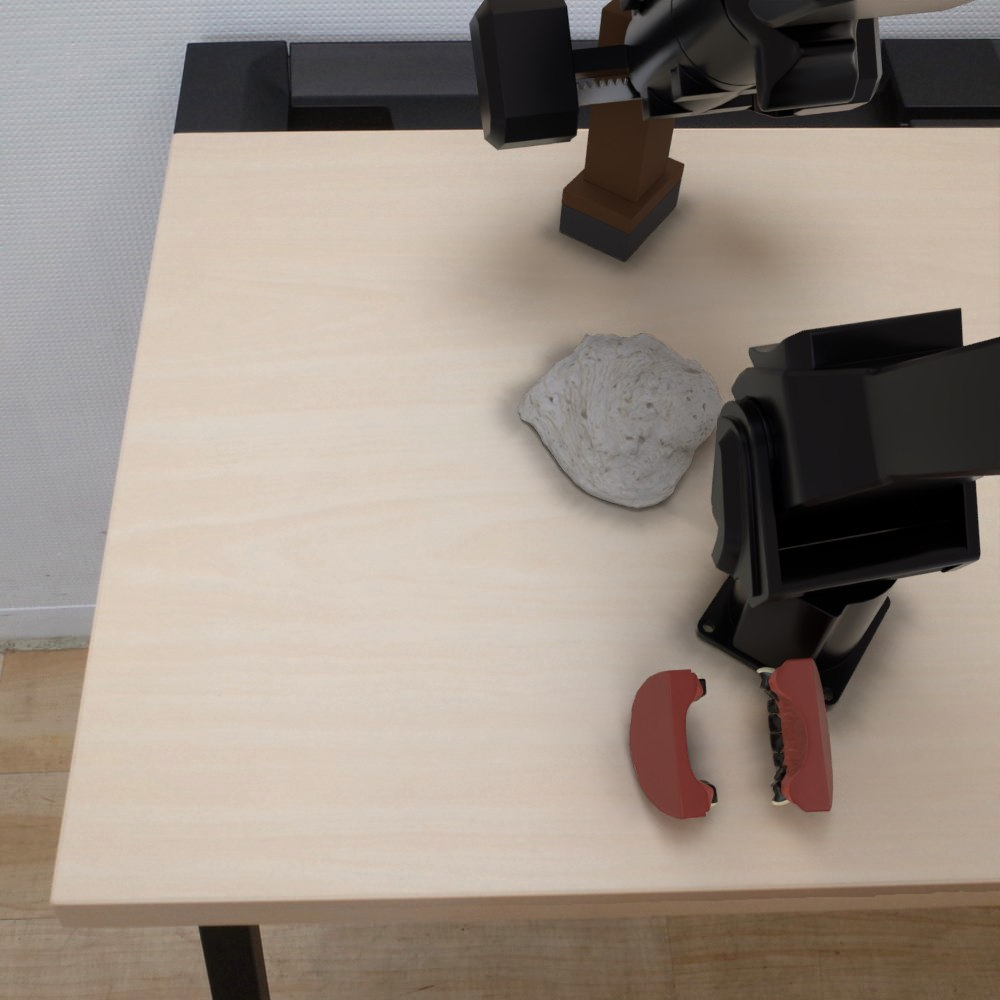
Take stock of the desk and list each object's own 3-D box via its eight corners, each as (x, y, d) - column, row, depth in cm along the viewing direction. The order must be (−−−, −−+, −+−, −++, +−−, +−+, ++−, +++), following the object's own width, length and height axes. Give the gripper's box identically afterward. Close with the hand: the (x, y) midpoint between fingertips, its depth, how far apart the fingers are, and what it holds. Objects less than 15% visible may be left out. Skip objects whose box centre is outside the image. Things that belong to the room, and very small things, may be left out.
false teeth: (632, 811, 44) (830, 795, 44) (646, 826, 40) (865, 810, 40) (620, 670, 45) (814, 655, 45) (632, 671, 40) (847, 655, 41)
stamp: (624, 262, 61) (658, 48, 50) (558, 231, 62) (578, 16, 52) (676, 206, 64) (719, -8, 53) (612, 177, 65) (641, -36, 55)
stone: (528, 302, 55) (729, 298, 53) (544, 368, 59) (732, 368, 56) (487, 447, 49) (710, 452, 47) (507, 511, 53) (716, 519, 50)
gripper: (943, -227, 43) (776, -80, 58) (481, -197, 40) (432, -51, 55) (960, 68, 45) (794, 135, 60) (520, 116, 42) (463, 174, 57)
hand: (626, 95), depth 58 cm, fingers open, 9 cm apart
